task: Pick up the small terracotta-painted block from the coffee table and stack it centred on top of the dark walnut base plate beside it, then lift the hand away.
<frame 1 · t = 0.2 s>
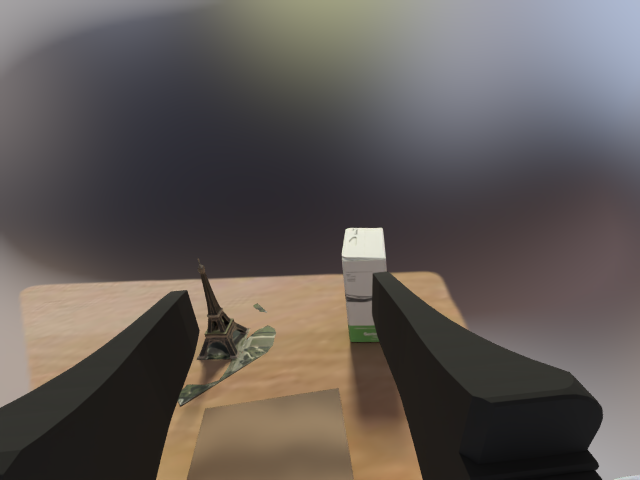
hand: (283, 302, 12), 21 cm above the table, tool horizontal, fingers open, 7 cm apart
ink box: (368, 320, 42), on the table
eiffel tower figurine: (226, 350, 41), on the table
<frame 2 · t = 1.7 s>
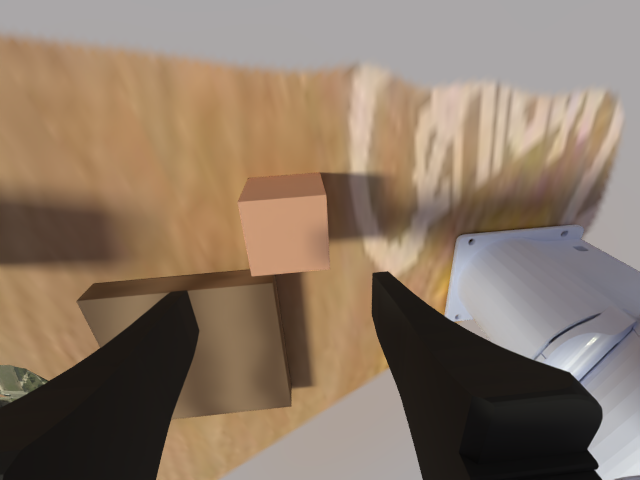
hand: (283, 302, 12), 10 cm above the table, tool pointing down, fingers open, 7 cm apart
terracotta block: (287, 208, 21), on the table
walnut base: (204, 341, 26), on the table
eiffel tower figurine: (38, 407, 29), on the table
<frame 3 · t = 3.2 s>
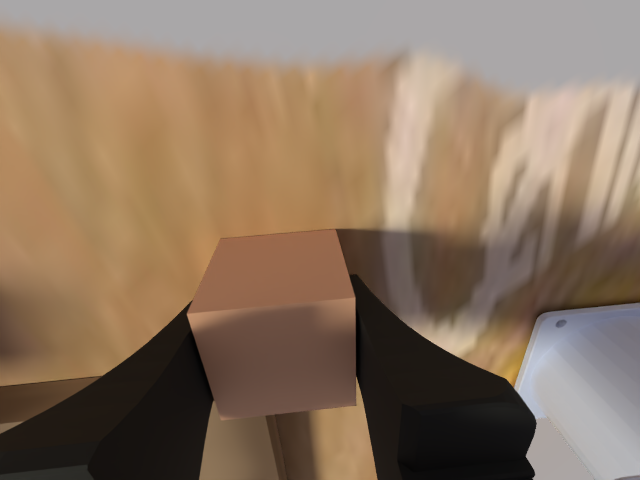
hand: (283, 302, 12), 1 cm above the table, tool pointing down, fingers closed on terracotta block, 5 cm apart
terracotta block: (284, 281, 14), on the table, touching gripper
walnut base: (167, 451, 18), on the table
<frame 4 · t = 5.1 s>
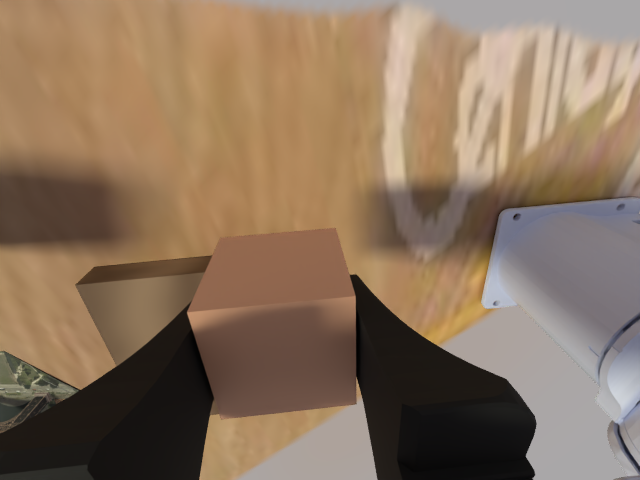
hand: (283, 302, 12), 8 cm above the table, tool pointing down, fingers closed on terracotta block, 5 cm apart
terracotta block: (284, 280, 14), point 7 cm above the table, touching gripper
walnut base: (217, 332, 24), on the table
eiffel tower figurine: (36, 403, 27), on the table
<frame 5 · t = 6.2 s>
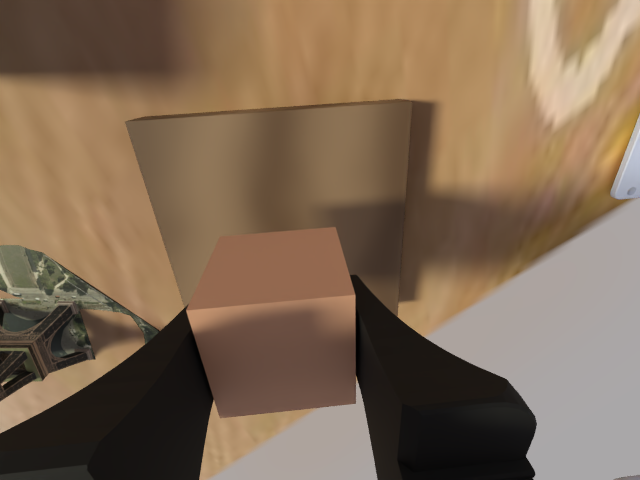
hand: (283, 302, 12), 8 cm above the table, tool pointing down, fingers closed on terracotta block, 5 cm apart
terracotta block: (284, 279, 14), point 6 cm above the table, touching gripper
walnut base: (287, 224, 19), on the table
eiffel tower figurine: (58, 321, 22), on the table
when the fingers open (4 cm above the table, at t = 7.3 s): terracotta block stays where it is, resting on walnut base.
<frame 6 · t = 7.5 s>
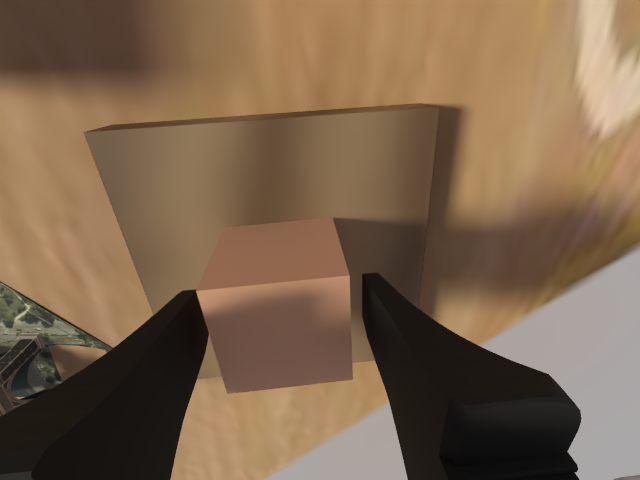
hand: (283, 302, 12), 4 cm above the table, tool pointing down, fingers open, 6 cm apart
terracotta block: (285, 268, 15), point 2 cm above the table, touching walnut base
walnut base: (285, 248, 16), on the table
eiffel tower figurine: (23, 354, 19), on the table
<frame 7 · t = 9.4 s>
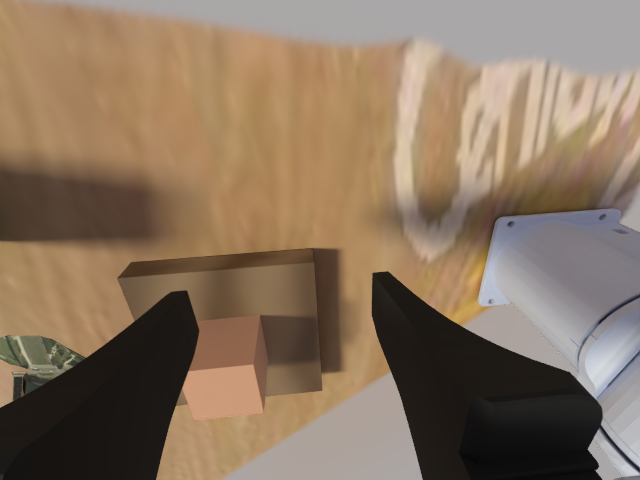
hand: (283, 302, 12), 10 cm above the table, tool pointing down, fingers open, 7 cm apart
terracotta block: (233, 341, 24), point 2 cm above the table, touching walnut base
walnut base: (237, 324, 26), on the table
eiffel tower figurine: (66, 383, 28), on the table
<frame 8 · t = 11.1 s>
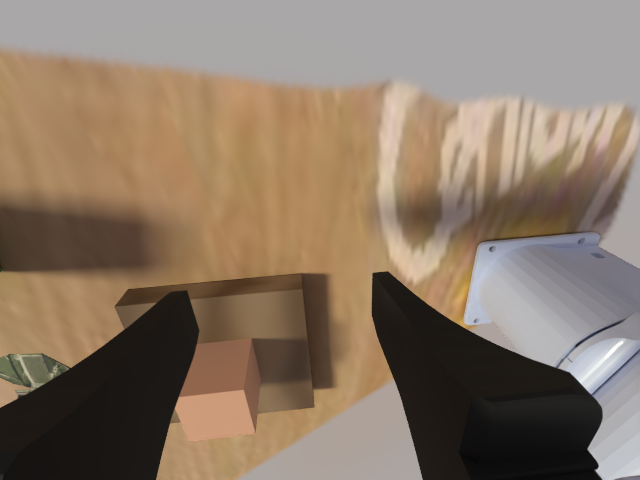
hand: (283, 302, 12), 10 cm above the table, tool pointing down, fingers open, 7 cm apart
terracotta block: (227, 362, 25), point 2 cm above the table, touching walnut base
walnut base: (231, 344, 27), on the table
eiffel tower figurine: (68, 400, 29), on the table
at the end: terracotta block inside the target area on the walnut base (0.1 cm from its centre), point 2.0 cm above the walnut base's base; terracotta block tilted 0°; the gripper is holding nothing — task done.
